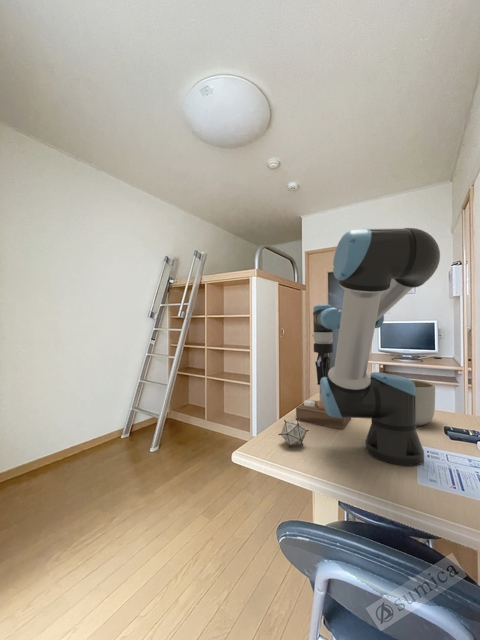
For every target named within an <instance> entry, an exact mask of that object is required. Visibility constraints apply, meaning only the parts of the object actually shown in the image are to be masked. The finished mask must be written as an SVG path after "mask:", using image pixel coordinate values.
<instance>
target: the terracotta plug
mask: <svg viewBox="0 0 480 640" xmlns="http://www.w3.org/2000/svg"><path fill="white" fill-rule="evenodd" d="M317 401H318V408H322V409H324V405H323V401H320V399H319V400H317Z"/></svg>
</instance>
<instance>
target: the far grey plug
mask: <svg viewBox="0 0 480 640" xmlns="http://www.w3.org/2000/svg"><path fill="white" fill-rule="evenodd" d="M312 400H313V399H305V400H303V403H304V406H310V407H314V406H315V401H316V400H314V401H312Z"/></svg>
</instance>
